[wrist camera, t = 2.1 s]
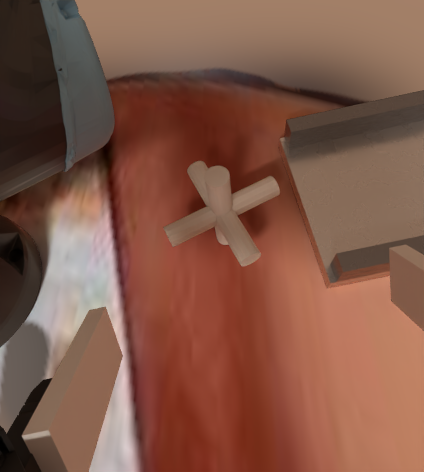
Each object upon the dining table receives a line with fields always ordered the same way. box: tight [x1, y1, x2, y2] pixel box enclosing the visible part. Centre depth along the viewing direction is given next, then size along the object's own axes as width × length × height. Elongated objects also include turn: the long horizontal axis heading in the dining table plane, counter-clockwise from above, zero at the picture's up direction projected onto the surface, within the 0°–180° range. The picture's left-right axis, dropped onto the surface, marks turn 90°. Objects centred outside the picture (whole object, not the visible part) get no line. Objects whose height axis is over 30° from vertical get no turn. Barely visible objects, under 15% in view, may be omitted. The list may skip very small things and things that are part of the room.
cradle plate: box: [279, 90, 424, 288], centre depth 32 cm, size 16×16×4 cm
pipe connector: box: [163, 161, 280, 266], centre depth 29 cm, size 10×10×10 cm
